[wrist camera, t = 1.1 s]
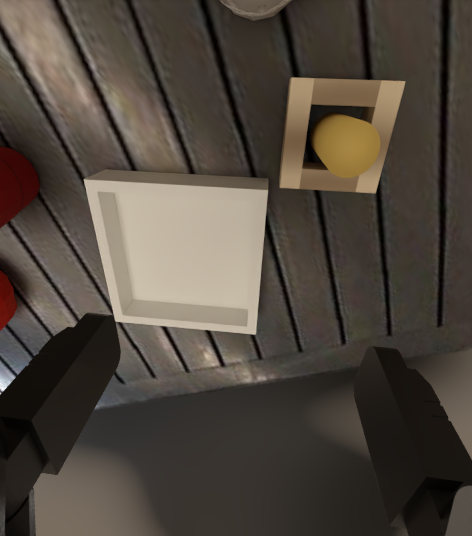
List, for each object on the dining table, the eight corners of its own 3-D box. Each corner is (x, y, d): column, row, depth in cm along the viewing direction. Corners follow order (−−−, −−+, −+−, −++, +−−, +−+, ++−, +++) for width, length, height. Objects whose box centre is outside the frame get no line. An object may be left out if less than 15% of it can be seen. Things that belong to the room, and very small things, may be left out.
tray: (105, 169, 30) (83, 179, 26) (268, 178, 28) (267, 190, 25) (129, 300, 38) (115, 321, 34) (257, 311, 37) (255, 334, 33)
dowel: (312, 111, 25) (328, 118, 18) (355, 113, 25) (387, 120, 18) (306, 155, 27) (318, 176, 20) (346, 157, 27) (372, 179, 20)
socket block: (289, 79, 24) (291, 77, 22) (391, 82, 24) (405, 81, 21) (279, 179, 28) (279, 187, 26) (365, 183, 28) (375, 193, 25)
